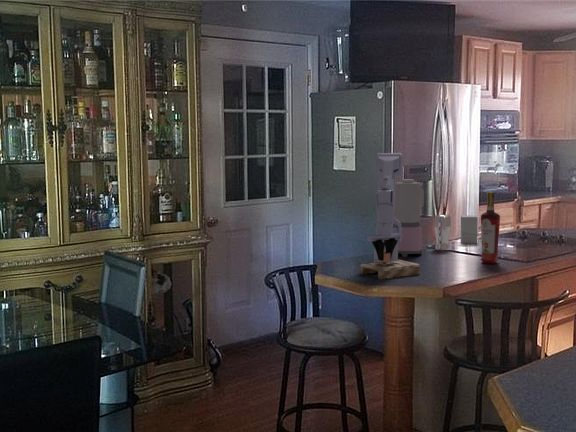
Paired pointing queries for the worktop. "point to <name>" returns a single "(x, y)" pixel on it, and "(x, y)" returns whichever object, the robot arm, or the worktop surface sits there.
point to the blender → (409, 215)
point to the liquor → (490, 232)
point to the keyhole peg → (385, 259)
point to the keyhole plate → (391, 269)
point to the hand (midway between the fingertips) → (384, 259)
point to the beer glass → (442, 231)
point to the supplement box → (469, 228)
